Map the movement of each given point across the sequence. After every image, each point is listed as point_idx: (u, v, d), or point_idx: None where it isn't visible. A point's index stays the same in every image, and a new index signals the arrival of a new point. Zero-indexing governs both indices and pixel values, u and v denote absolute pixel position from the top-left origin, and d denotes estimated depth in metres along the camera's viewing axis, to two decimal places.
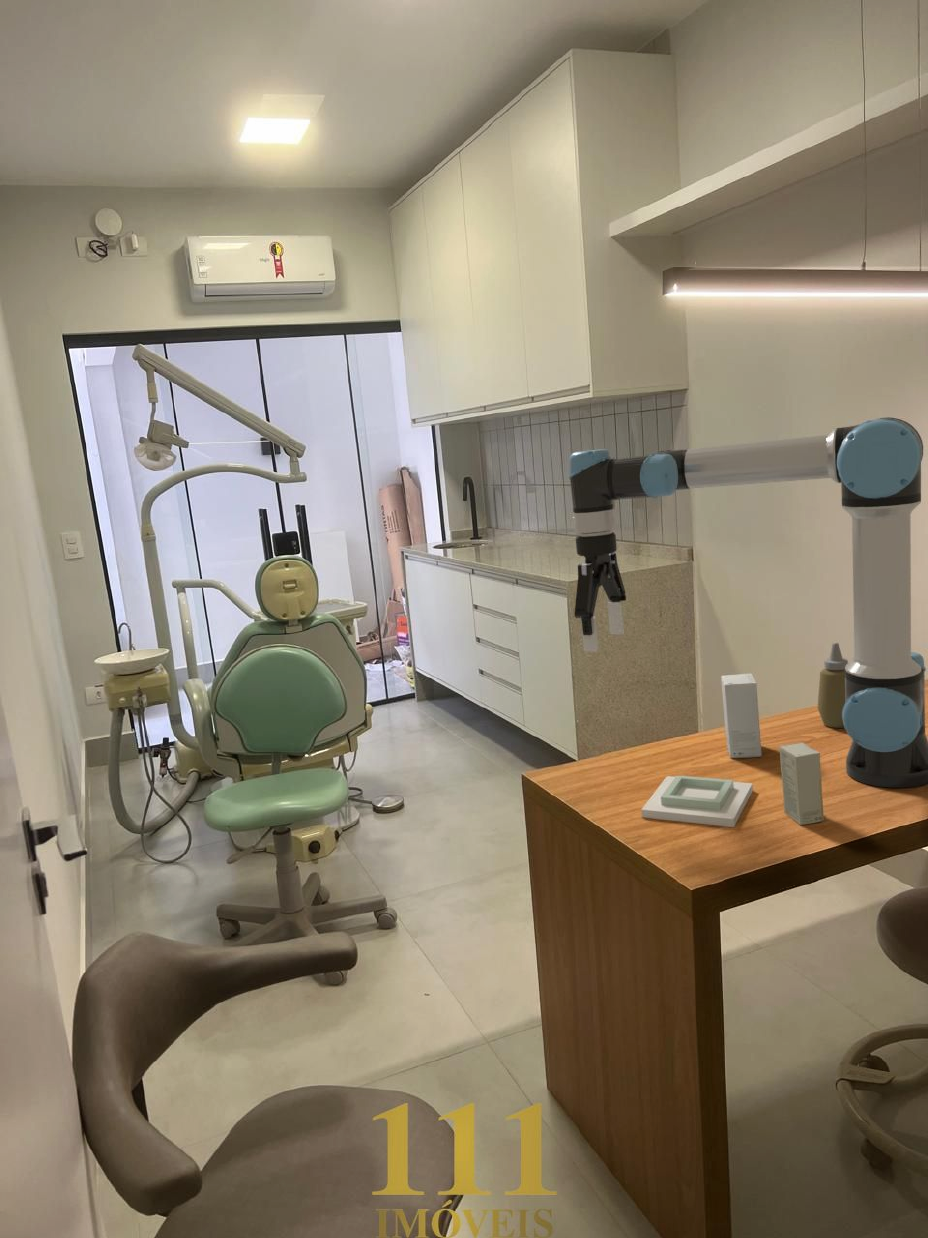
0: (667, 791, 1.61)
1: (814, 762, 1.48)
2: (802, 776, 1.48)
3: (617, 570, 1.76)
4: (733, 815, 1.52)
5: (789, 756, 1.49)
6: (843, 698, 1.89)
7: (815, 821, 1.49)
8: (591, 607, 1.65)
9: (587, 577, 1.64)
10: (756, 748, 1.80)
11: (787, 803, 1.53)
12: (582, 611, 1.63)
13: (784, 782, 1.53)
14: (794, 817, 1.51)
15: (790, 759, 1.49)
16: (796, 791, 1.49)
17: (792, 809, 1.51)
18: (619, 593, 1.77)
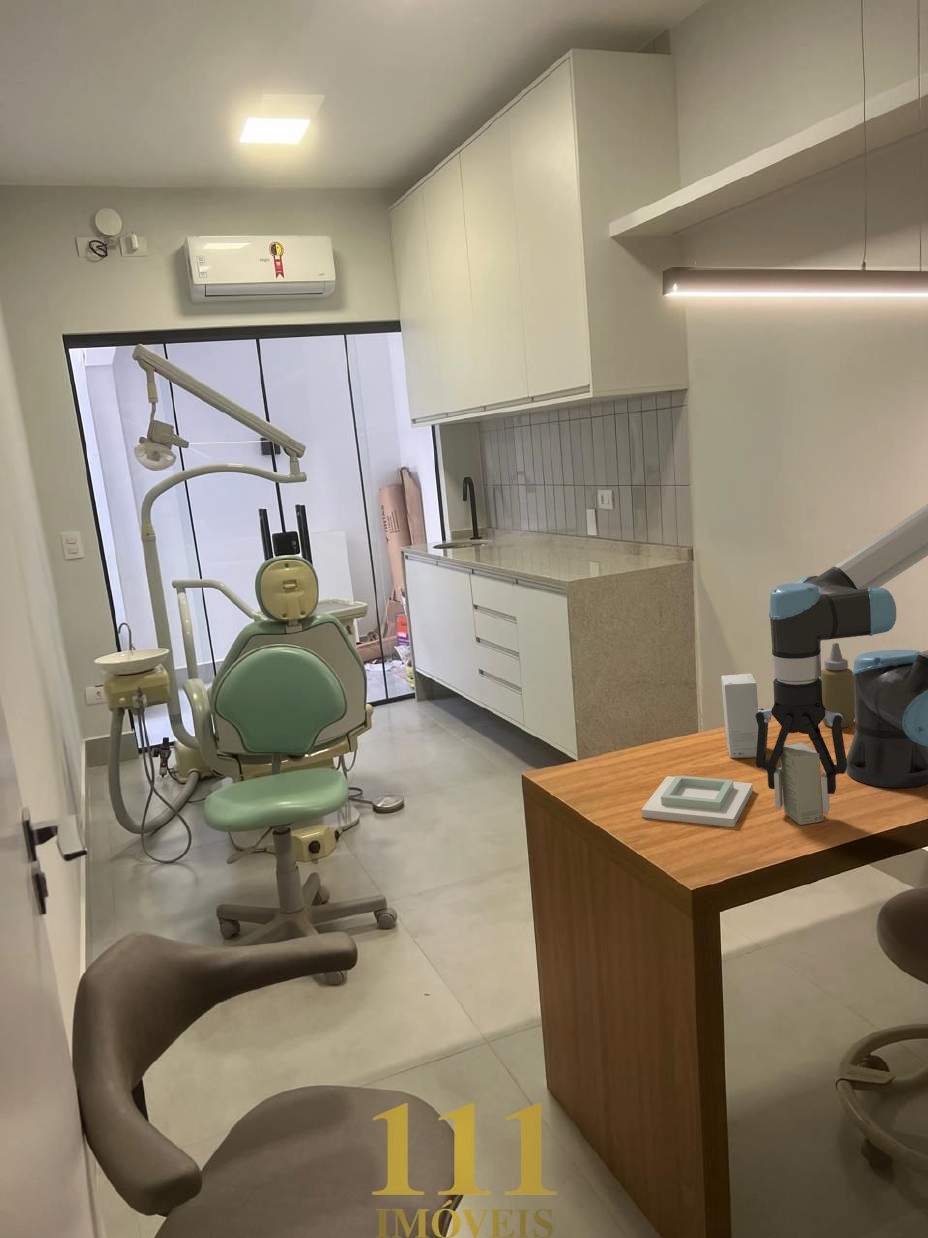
0: (667, 791, 1.61)
1: (814, 761, 1.48)
2: (802, 776, 1.48)
3: (835, 737, 1.46)
4: (733, 815, 1.52)
5: (789, 756, 1.49)
6: (843, 698, 1.89)
7: (815, 821, 1.49)
8: (769, 761, 1.52)
9: None
10: (756, 748, 1.80)
11: (787, 803, 1.53)
12: None
13: (784, 782, 1.53)
14: (793, 816, 1.51)
15: (790, 759, 1.49)
16: (796, 791, 1.49)
17: (791, 809, 1.51)
18: (826, 765, 1.47)
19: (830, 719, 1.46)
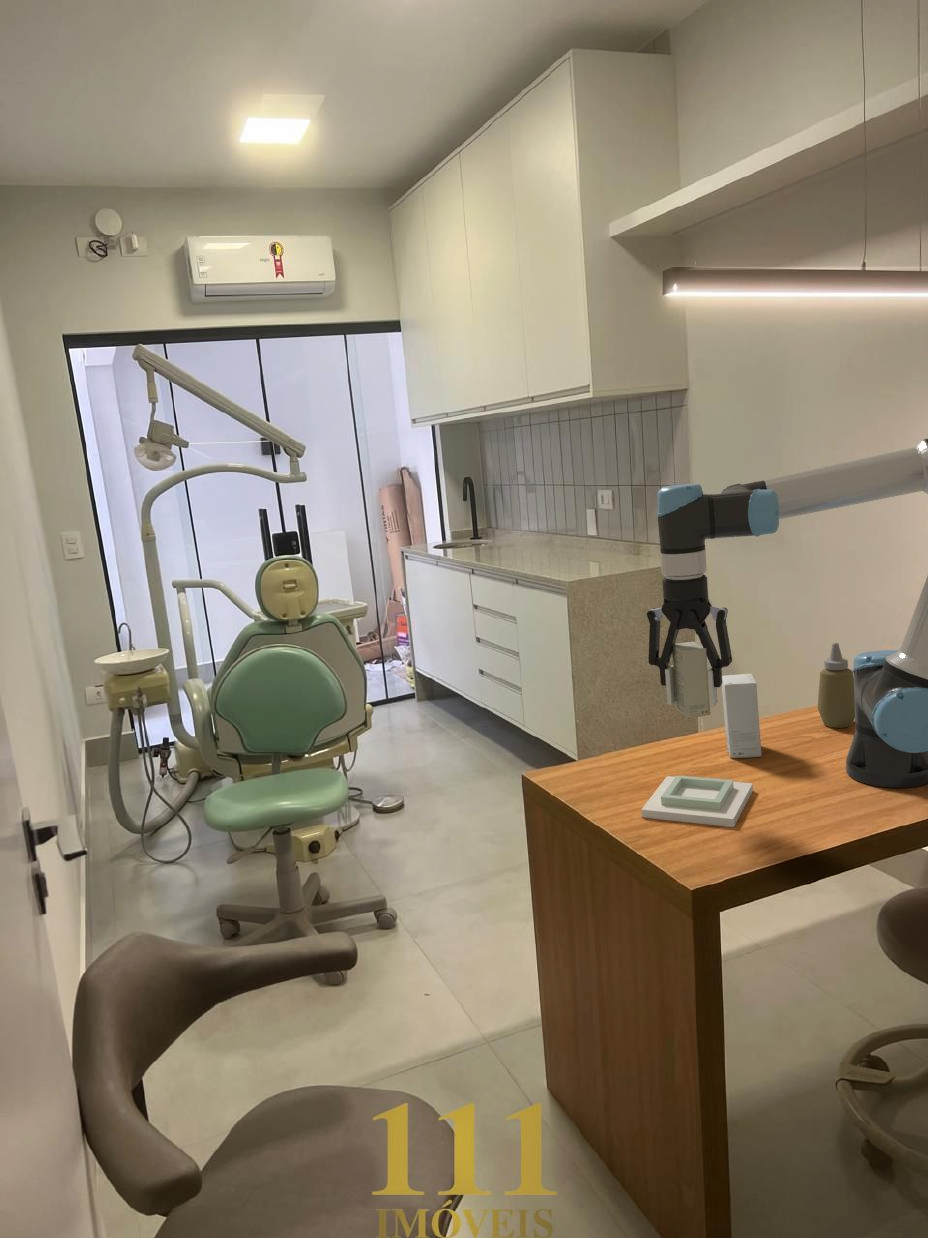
0: (667, 791, 1.61)
1: (700, 656, 1.54)
2: (689, 670, 1.54)
3: (719, 631, 1.52)
4: (733, 815, 1.52)
5: (678, 651, 1.55)
6: (843, 698, 1.89)
7: (701, 714, 1.56)
8: (661, 658, 1.58)
9: None
10: (756, 748, 1.80)
11: (678, 699, 1.59)
12: None
13: (675, 679, 1.59)
14: (682, 711, 1.57)
15: (679, 655, 1.55)
16: (683, 685, 1.55)
17: (681, 704, 1.58)
18: (712, 659, 1.54)
19: (715, 614, 1.52)
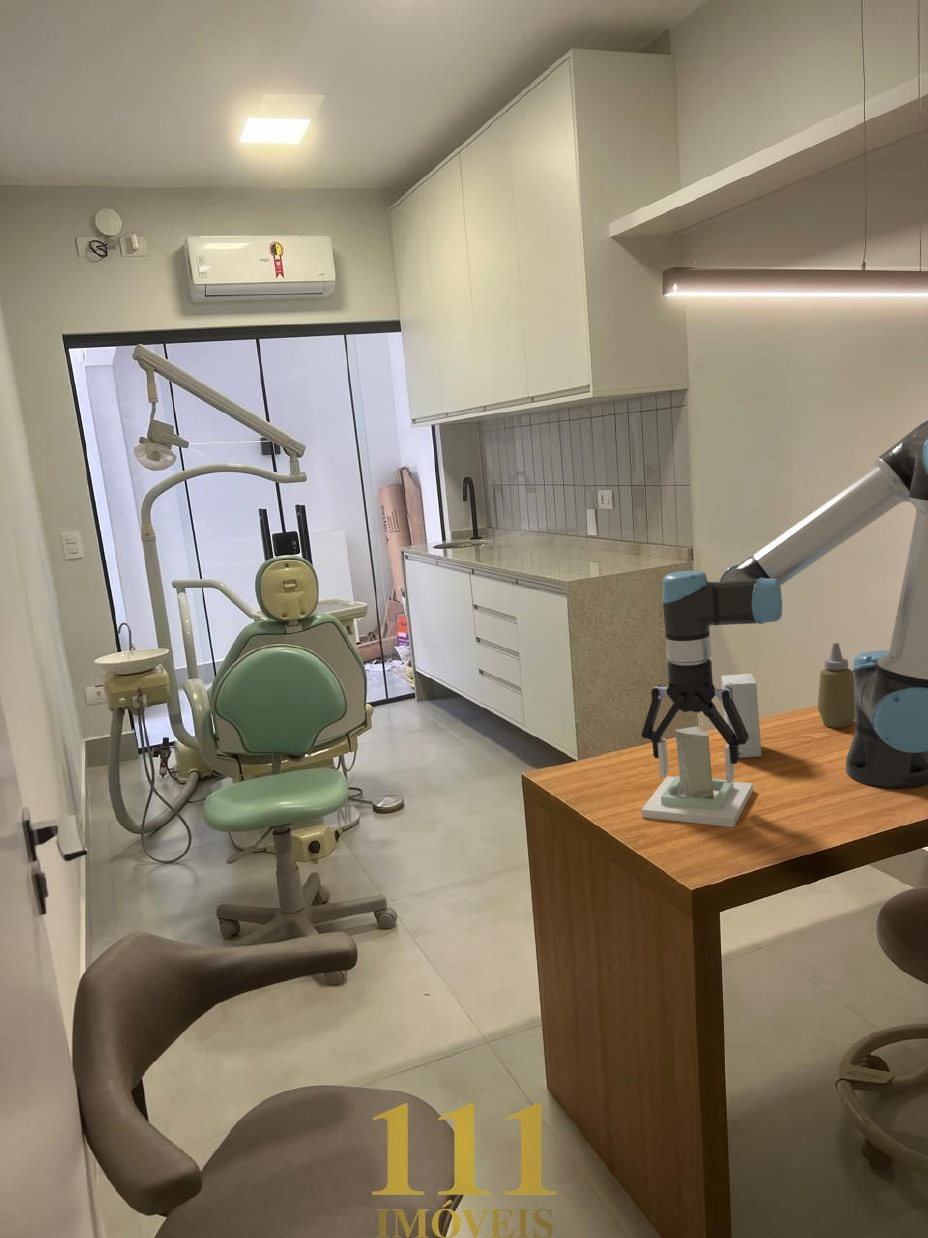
0: (667, 791, 1.61)
1: (703, 744, 1.57)
2: (691, 757, 1.57)
3: (728, 711, 1.54)
4: (733, 815, 1.52)
5: (681, 738, 1.59)
6: (843, 698, 1.89)
7: None
8: (655, 732, 1.62)
9: (652, 701, 1.61)
10: (756, 748, 1.80)
11: (682, 783, 1.62)
12: None
13: (679, 763, 1.62)
14: (686, 796, 1.61)
15: (682, 742, 1.59)
16: (687, 771, 1.58)
17: (685, 789, 1.61)
18: (727, 737, 1.55)
19: (720, 695, 1.55)
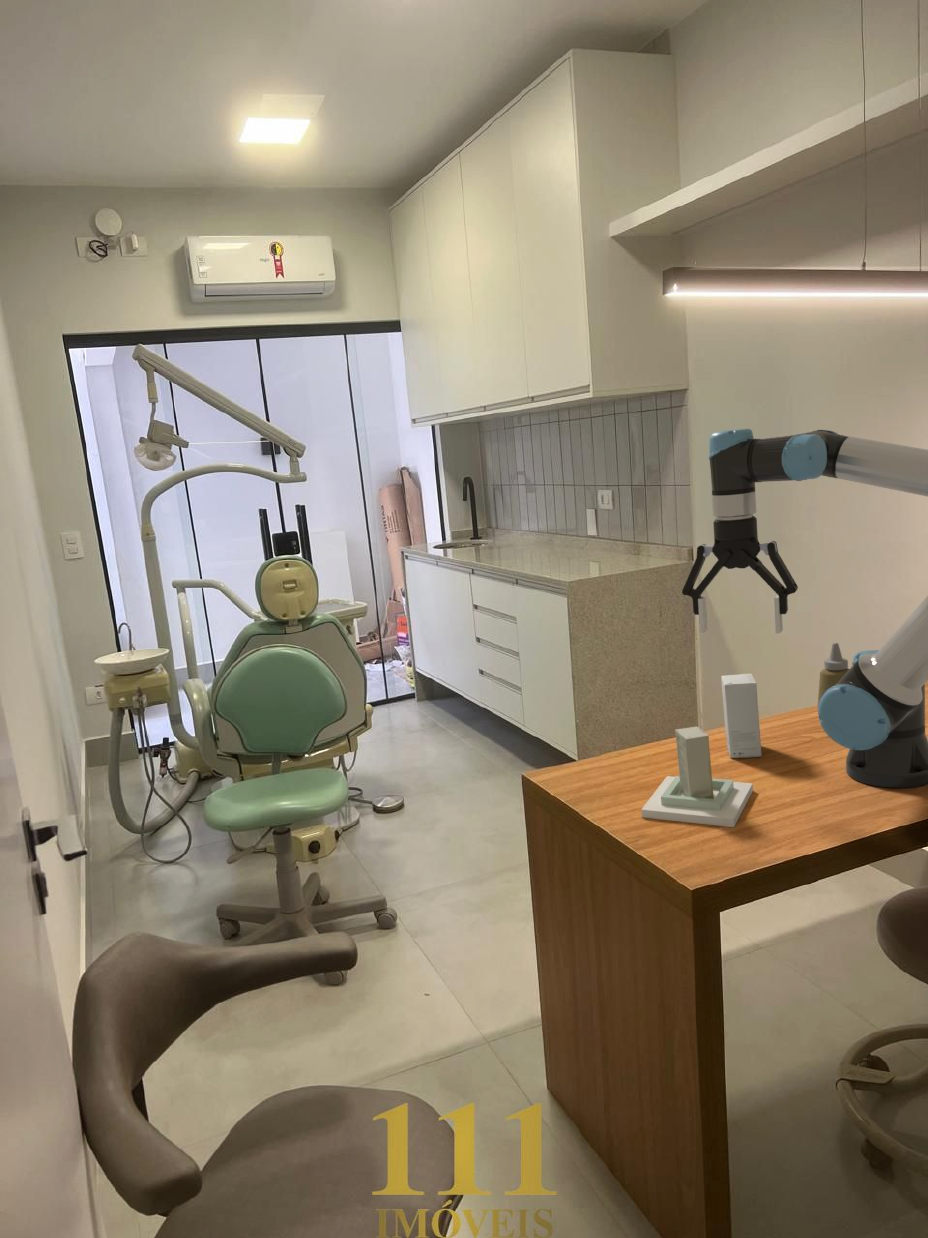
0: (667, 791, 1.61)
1: (703, 744, 1.57)
2: (691, 757, 1.57)
3: (775, 562, 1.59)
4: (733, 815, 1.52)
5: (681, 738, 1.59)
6: None
7: None
8: (696, 588, 1.67)
9: None
10: (756, 748, 1.80)
11: (682, 783, 1.62)
12: None
13: (679, 763, 1.62)
14: (686, 796, 1.61)
15: (682, 742, 1.59)
16: (687, 771, 1.58)
17: (685, 789, 1.61)
18: (776, 588, 1.60)
19: (765, 549, 1.60)
